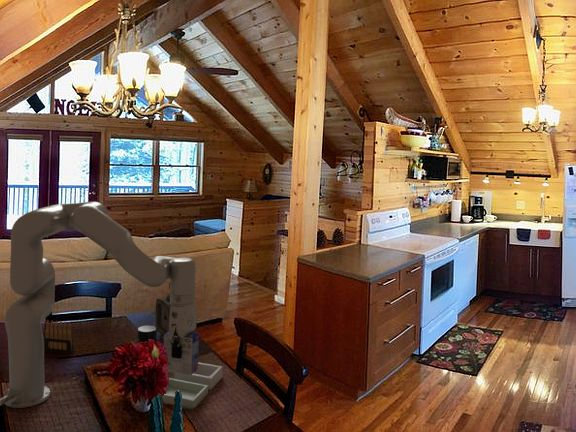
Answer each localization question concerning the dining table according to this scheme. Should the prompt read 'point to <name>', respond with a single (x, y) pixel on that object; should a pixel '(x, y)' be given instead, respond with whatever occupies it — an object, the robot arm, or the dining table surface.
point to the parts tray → (186, 393)
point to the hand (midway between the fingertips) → (181, 353)
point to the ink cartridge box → (184, 354)
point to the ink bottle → (147, 333)
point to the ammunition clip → (58, 338)
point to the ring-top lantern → (163, 314)
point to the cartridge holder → (203, 375)
